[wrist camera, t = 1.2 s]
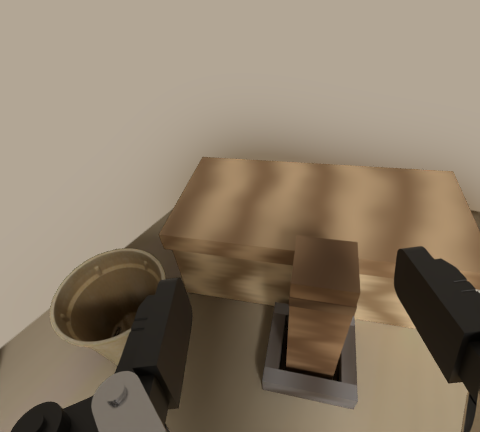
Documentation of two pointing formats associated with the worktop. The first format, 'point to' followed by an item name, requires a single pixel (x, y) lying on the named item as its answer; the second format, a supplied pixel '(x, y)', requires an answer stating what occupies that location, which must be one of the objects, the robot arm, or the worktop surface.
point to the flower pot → (104, 299)
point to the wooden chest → (319, 226)
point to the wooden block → (321, 304)
